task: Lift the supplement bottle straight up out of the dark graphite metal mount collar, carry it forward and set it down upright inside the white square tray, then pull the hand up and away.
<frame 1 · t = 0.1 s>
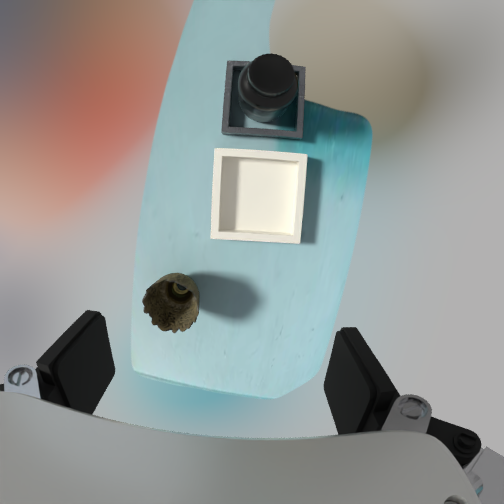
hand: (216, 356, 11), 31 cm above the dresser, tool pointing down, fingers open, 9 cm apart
olive rounded textured piece: (182, 284, 43), on the dresser
mount collar: (263, 100, 36), on the dresser
supplement bottle: (263, 100, 36), resting in mount collar
white square tray: (257, 194, 40), on the dresser
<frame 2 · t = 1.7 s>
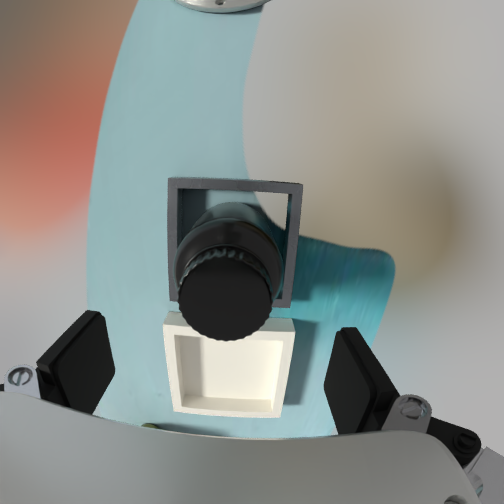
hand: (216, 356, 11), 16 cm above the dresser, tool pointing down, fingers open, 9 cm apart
mount collar: (232, 240, 25), on the dresser
supplement bottle: (232, 239, 26), resting in mount collar
white square tray: (228, 364, 29), on the dresser
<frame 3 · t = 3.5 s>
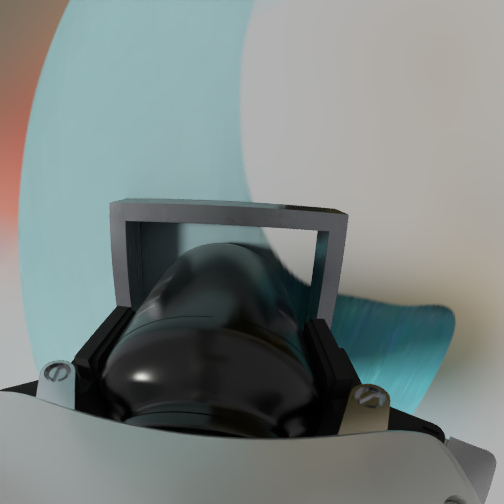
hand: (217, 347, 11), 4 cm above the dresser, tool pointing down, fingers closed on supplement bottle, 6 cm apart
mount collar: (224, 302, 15), on the dresser
supplement bottle: (224, 300, 15), resting in mount collar, touching gripper
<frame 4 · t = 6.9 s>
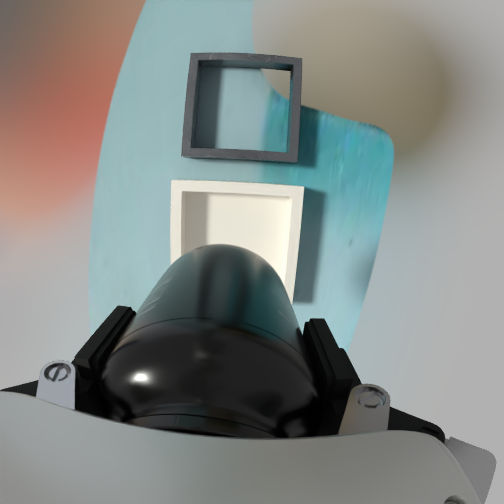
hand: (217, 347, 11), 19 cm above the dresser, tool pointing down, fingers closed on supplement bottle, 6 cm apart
mount collar: (242, 107, 26), on the dresser
supplement bottle: (224, 301, 15), point 14 cm above the dresser, touching gripper
white square tray: (234, 241, 29), on the dresser
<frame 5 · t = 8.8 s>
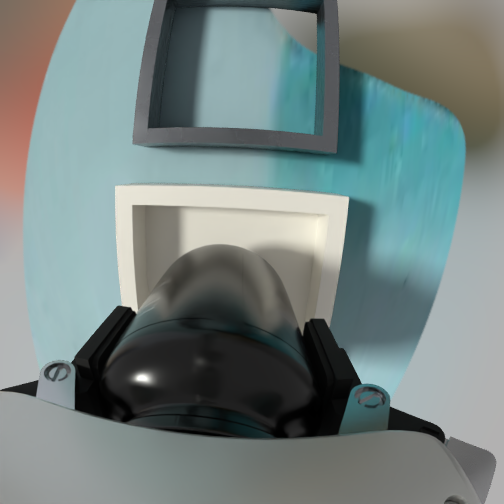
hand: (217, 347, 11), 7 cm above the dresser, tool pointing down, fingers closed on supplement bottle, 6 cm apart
mount collar: (240, 62, 14), on the dresser
supplement bottle: (224, 301, 15), point 2 cm above the dresser, touching gripper
white square tray: (227, 284, 18), on the dresser
when the fingers open (5 cm above the dresser, at t = 10.1 s): supplement bottle stays where it is, resting on white square tray.
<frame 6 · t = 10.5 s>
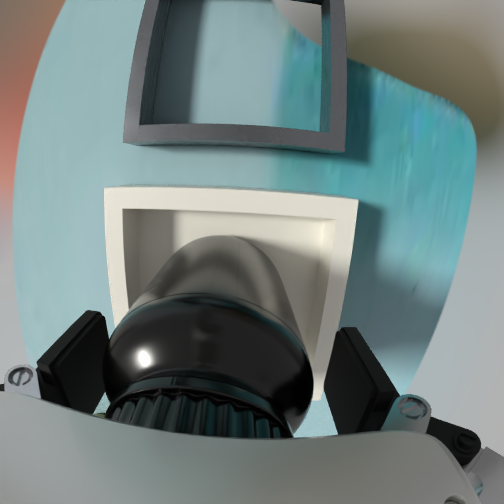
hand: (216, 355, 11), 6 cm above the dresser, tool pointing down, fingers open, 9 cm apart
mount collar: (240, 55, 13), on the dresser
supplement bottle: (222, 291, 16), resting on white square tray
white square tray: (226, 293, 16), on the dresser
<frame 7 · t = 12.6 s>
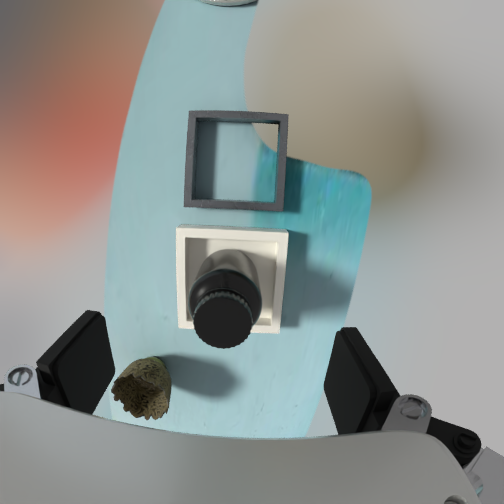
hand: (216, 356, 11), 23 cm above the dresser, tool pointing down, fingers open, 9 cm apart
olive rounded textured piece: (155, 364, 38), on the dresser
mount collar: (236, 160, 31), on the dresser
supplement bottle: (229, 275, 34), resting on white square tray
white square tray: (230, 276, 34), on the dresser
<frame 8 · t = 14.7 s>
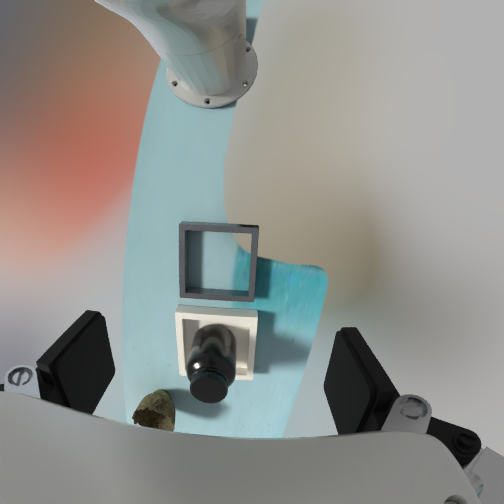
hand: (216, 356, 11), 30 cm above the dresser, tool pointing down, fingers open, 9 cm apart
olive rounded textured piece: (162, 394, 48), on the dresser
mount collar: (218, 260, 41), on the dresser
supplement bottle: (215, 340, 44), resting on white square tray
white square tray: (217, 340, 45), on the dresser
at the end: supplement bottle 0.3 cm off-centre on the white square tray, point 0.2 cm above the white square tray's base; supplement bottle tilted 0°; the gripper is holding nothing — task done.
